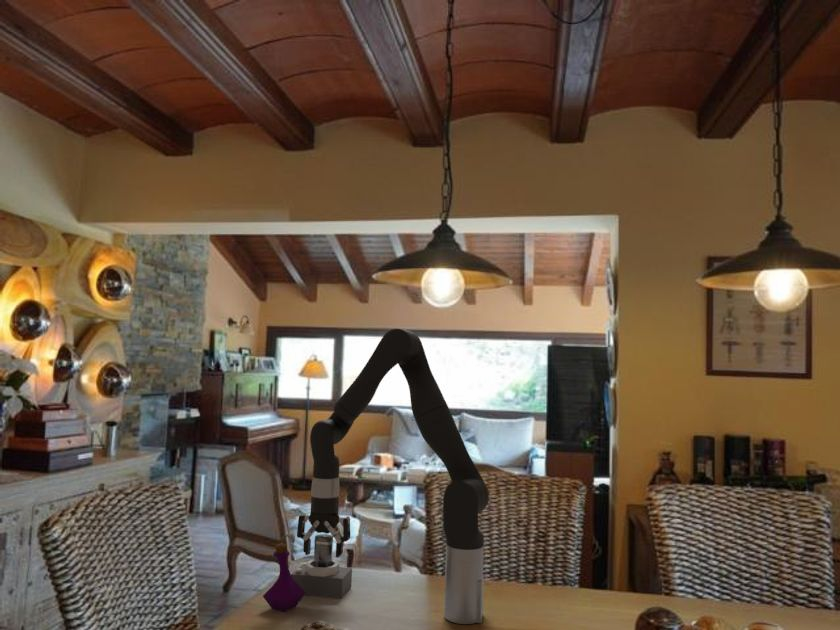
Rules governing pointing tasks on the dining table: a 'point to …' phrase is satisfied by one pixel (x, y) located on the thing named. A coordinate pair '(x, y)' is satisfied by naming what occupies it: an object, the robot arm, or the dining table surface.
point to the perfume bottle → (284, 582)
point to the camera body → (323, 579)
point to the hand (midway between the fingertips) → (322, 555)
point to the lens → (323, 550)
